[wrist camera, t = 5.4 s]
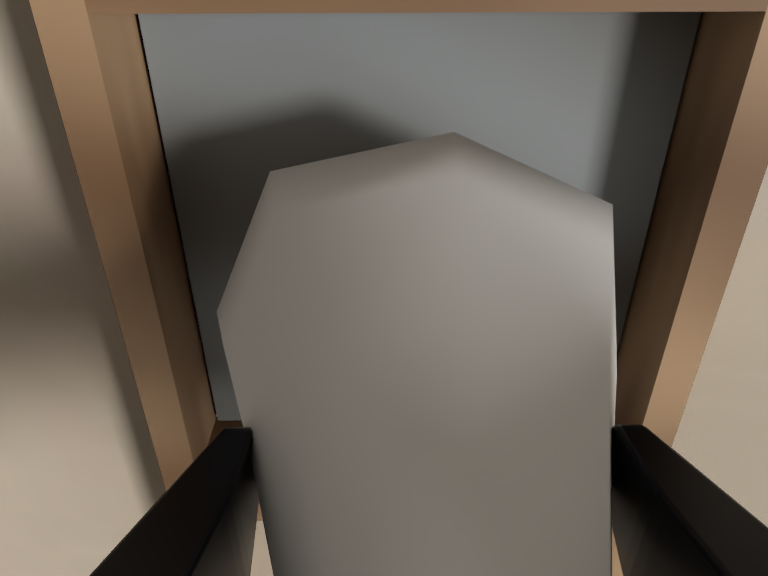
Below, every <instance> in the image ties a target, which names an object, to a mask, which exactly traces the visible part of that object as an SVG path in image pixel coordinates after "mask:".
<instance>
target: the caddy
mask: <svg viewBox="0 0 768 576" xmlns="http://www.w3.org/2000/svg"><path fill="white" fill-rule="evenodd" d="M29 3H30V6H31V10H32V13H33V17H34V20H35V24H36V28H37V31H38V35H39V38H40V42H41V45H42V49H43V53H44V56H45V60H46V63H47V67H48V71H49V74H50V78H51V81H52V85H53V88H54V92H55V96H56V99H57V103H58V106H59V110H60V113H61V117H62V121H63V124H64V128H65V131H66V135H67V138H68V142H69V146H70V149H71V153H72V156H73V160H74V164H75V167H76V171H77V174H78V178H79V181H80V185H81V189H82V192H83V196H84V199H85V203H86V206H87V210H88V214H89V217H90V221H91V224H92V228H93V231H94V235H95V239H96V242H97V246H98V249H99V253H100V257H101V260H102V264H103V267H104V271H105V274H106V278H107V282H108V285H109V289H110V292H111V296H112V299H113V303H114V307H115V310H116V314H117V317H118V321H119V324H120V328H121V332H122V335H123V339H124V342H125V346H126V350H127V353H128V357H129V360H130V364H131V367H132V371H133V375H134V378H135V382H136V385H137V389H138V392H139V396H140V400H141V403H142V407H143V410H144V414H145V418H146V421H147V425H148V428H149V432H150V435H151V439H152V443H153V446H154V450H155V453H156V457H157V460H158V464H159V468H160V471H161V475H162V478H163V482H164V485H165V489H166V491H167V490H168V489H169V488H170V486H171V485H172V484H173V483H174V482H175V481H176V480H177V479H178V478H179V477H180V475H181V474H182V473H183V472H184V471H185V470H186V469H187V468H188V467H189V466H190V464H191V463H192V462H193V461H194V460H195V459H196V458H197V457H198V456H199V455H200V453H201V452H202V451H203V450H204V449H205V448H206V447H207V446H208V445H209V444H210V442H211V441H212V440H213V439H214V438H215V437H216V436H217V435H218V434H219V433H220V431H222V430H223V429H224V428H227V427H243V424H242V420H241V416H240V412H239V408H238V404H237V400H236V396H235V392H234V388H233V383H232V379H231V375H230V371H229V367H228V363H227V359H226V355H225V351H224V347H223V342H222V337H221V331H220V326H219V321H218V316H217V310H218V307H219V304H220V302H221V299H222V296H223V294H224V291H225V289H226V286H227V283H228V281H229V278H230V275H231V273H232V270H233V268H234V265H235V262H236V260H237V257H238V254H239V252H240V249H241V246H242V244H243V241H244V239H245V236H246V233H247V231H248V228H249V225H250V223H251V220H252V217H253V215H254V212H255V210H256V207H257V204H258V202H259V199H260V196H261V194H262V191H263V189H264V186H265V183H266V181H267V178H268V175H269V173H270V171H274V170H278V169H283V168H288V167H292V166H297V165H302V164H306V163H311V162H316V161H320V160H325V159H330V158H334V157H339V156H344V155H348V154H353V153H358V152H362V151H367V150H372V149H376V148H381V147H386V146H390V145H395V144H400V143H404V142H409V141H414V140H418V139H423V138H427V137H432V136H437V135H441V134H446V133H451V132H455V133H457V134H460V135H462V136H464V137H466V138H468V139H471V140H473V141H475V142H477V143H479V144H482V145H484V146H486V147H488V148H490V149H492V150H495V151H497V152H499V153H501V154H503V155H506V156H508V157H510V158H512V159H514V160H517V161H519V162H521V163H523V164H525V165H527V166H530V167H532V168H534V169H536V170H538V171H541V172H543V173H545V174H547V175H549V176H552V177H554V178H556V179H558V180H560V181H562V182H565V183H567V184H569V185H571V186H573V187H576V188H578V189H580V190H582V191H584V192H587V193H589V194H591V195H593V196H595V197H597V198H600V199H602V200H604V201H606V202H608V203H611V204H613V232H614V268H615V304H616V340H617V350H618V351H617V384H616V405H615V425H619V424H639V425H643V426H645V427H647V428H648V429H649V430H651V431H652V432H653V433H654V434H655V435H657V436H658V437H659V438H660V439H661V440H663V441H664V442H665V443H666V444H668V445H669V446H670V447H672V444H673V441H674V438H675V435H676V432H677V429H678V426H679V423H680V420H681V417H682V414H683V412H684V409H685V406H686V403H687V400H688V397H689V394H690V391H691V388H692V385H693V382H694V379H695V376H696V373H697V370H698V368H699V365H700V362H701V359H702V356H703V353H704V350H705V347H706V344H707V341H708V338H709V335H710V332H711V329H712V327H713V324H714V321H715V318H716V315H717V312H718V309H719V306H720V303H721V300H722V297H723V294H724V291H725V288H726V285H727V283H728V280H729V277H730V274H731V271H732V268H733V265H734V262H735V259H736V256H737V253H738V250H739V247H740V244H741V241H742V239H743V236H744V233H745V230H746V227H747V224H748V221H749V218H750V215H751V212H752V209H753V206H754V203H755V200H756V198H757V195H758V192H759V189H760V186H761V183H762V180H763V177H764V174H765V171H766V168H767V165H768V0H29ZM136 14H138V17H139V22H140V27H141V32H142V37H143V42H144V48H145V53H146V58H147V63H148V68H149V73H150V78H151V83H152V88H153V93H154V98H155V104H156V109H157V114H158V119H159V124H160V129H161V134H162V139H163V144H164V149H165V154H166V159H167V165H168V170H169V175H170V180H171V185H172V190H173V195H174V200H175V205H176V210H177V215H178V221H179V226H180V231H181V236H182V241H183V246H184V251H185V256H186V261H187V266H188V271H189V277H190V282H191V287H192V292H193V297H194V302H195V307H196V312H197V317H198V322H199V327H200V333H201V338H202V343H203V348H204V353H205V358H206V363H207V368H208V373H209V378H210V383H211V388H212V394H213V399H214V404H215V409H216V414H217V418H216V415H215V410H214V404H213V399H212V394H211V389H210V384H209V379H208V374H207V369H206V364H205V359H204V354H203V349H202V344H201V339H200V334H199V329H198V324H197V319H196V313H195V308H194V303H193V298H192V293H191V288H190V283H189V278H188V273H187V268H186V263H185V258H184V253H183V248H182V243H181V238H180V233H179V228H178V222H177V217H176V212H175V207H174V202H173V197H172V192H171V187H170V182H169V177H168V172H167V167H166V162H165V157H164V152H163V147H162V142H161V137H160V131H159V126H158V121H157V116H156V111H155V106H154V101H153V96H152V91H151V86H150V81H149V76H148V71H147V66H146V61H145V56H144V51H143V46H142V40H141V35H140V30H139V25H138V20H137V15H136ZM700 15H701V16H700ZM699 19H700V20H699ZM698 23H699V24H698ZM697 27H698V28H697ZM696 31H697V32H696ZM695 35H696V36H695ZM694 39H695V40H694ZM693 43H694V44H693ZM692 47H693V48H692ZM691 51H692V52H691ZM690 55H691V56H690ZM689 59H690V60H689ZM688 63H689V64H688ZM687 67H688V68H687ZM686 71H687V72H686ZM685 75H686V76H685ZM683 84H684V85H683ZM682 88H683V89H682ZM681 92H682V93H681ZM680 96H681V97H680ZM679 100H680V101H679ZM678 104H679V105H678ZM677 108H678V109H677ZM676 112H677V113H676ZM675 116H676V117H675ZM674 120H675V121H674ZM673 124H674V125H673ZM672 128H673V129H672ZM671 132H672V133H671ZM670 136H671V137H670ZM669 140H670V141H669ZM668 144H669V145H668ZM667 148H668V149H667ZM666 152H667V153H666ZM665 156H666V157H665ZM664 160H665V161H664ZM663 164H664V165H663ZM662 168H663V169H662ZM661 172H662V173H661ZM660 176H661V177H660ZM659 180H660V181H659ZM654 201H655V202H654ZM653 205H654V206H653ZM652 209H653V210H652ZM651 213H652V214H651ZM650 217H651V218H650ZM649 221H650V222H649ZM648 225H649V226H648ZM647 229H648V230H647ZM646 233H647V234H646ZM645 237H646V238H645ZM644 241H645V242H644ZM643 245H644V246H643ZM642 249H643V250H642ZM641 253H642V254H641ZM640 257H641V258H640ZM639 261H640V262H639ZM638 265H639V266H638ZM637 269H638V270H637ZM636 273H637V274H636ZM635 277H636V278H635ZM634 281H635V282H634ZM633 285H634V286H633ZM632 289H633V290H632ZM625 318H626V319H625ZM624 322H625V323H624ZM623 326H624V327H623ZM622 330H623V331H622ZM621 334H622V335H621ZM620 338H621V339H620ZM619 342H620V343H619ZM618 346H619V347H618ZM259 520H263V518H262V513H261V508H260V503H259V504H258V513H257V521H259ZM612 576H623V573H622V569H621V565H620V560H619V556H618V551H617V547H616V543H615V538H614V534H613V530H612Z"/></svg>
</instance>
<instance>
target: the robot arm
mask: <svg viewBox="0 0 768 576" xmlns="http://www.w3.org/2000/svg"><path fill="white" fill-rule="evenodd" d="M251 450H252V429H251V427H227V428H224V429H223V430H222V431H220V433H219V434H218V435H217V436H216V437H215V438H214V439H213V440H212V441H211V442H210V444H209V445H208V446H207V447H206V448H205V449H204V450H203V451H202V452H201V453H200V455H199V456H198V457H197V458H196V459H195V460H194V461H193V462H192V463H191V464H190V466H189V467H188V468H187V469H186V470H185V471H184V472H183V473H182V474H181V475H180V477H179V478H178V479H177V480H176V481H175V482H174V483H173V484H172V485H171V486H170V488H169V489H168V490H167V491H166V492H165V493H164V494H163V495H162V496H161V498H160V499H159V500H158V501H157V502H156V503H155V504H154V505H153V506H152V507H151V509H150V510H149V511H148V512H147V513H146V514H145V515H144V516H143V517H142V518H141V520H140V521H139V522H138V523H137V524H136V525H135V526H134V527H133V528H132V529H131V531H130V532H129V533H128V534H127V535H126V536H125V537H124V538H123V539H122V540H121V542H120V543H119V544H118V545H117V546H116V547H115V548H114V549H113V550H112V551H111V553H110V554H109V555H108V556H107V557H106V558H105V559H104V560H103V561H102V562H101V564H100V565H99V566H98V567H97V568H96V569H95V570H94V571H93V572H92V573H91V575H90V576H250V572H251V564H252V556H253V547H254V538H255V530H256V521H257V513H258V504H259V498H258V493H257V487H256V482H255V477H254V472H253V467H252V462H251ZM612 530H613V534H614V538H615V543H616V547H617V551H618V556H619V560H620V565H621V569H622V573H623V576H768V527H766V526H765V525H764V524H763V523H762V522H760V521H759V520H758V519H757V518H756V517H754V516H753V515H752V514H751V513H750V512H748V511H747V510H746V509H745V508H744V507H742V506H741V505H740V504H739V503H737V502H736V501H735V500H734V499H733V498H731V497H730V496H729V495H728V494H727V493H725V492H724V491H723V490H722V489H721V488H719V487H718V486H717V485H716V484H715V483H713V482H712V481H711V480H710V479H709V478H707V477H706V476H705V475H704V474H703V473H701V472H700V471H699V470H698V469H696V468H695V467H694V466H693V465H692V464H690V463H689V462H688V461H687V460H686V459H684V458H683V457H682V456H681V455H680V454H678V453H677V452H676V451H675V450H674V449H672V448H671V447H670V446H669V445H668V444H666V443H665V442H664V441H663V440H661V439H660V438H659V437H658V436H657V435H655V434H654V433H653V432H652V431H651V430H649V429H648V428H647V427H645V426H643V425H639V424H619V425H615V426H613V427H612Z"/></svg>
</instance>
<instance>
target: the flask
mask: <svg viewBox="0 0 768 576" xmlns="http://www.w3.org/2000/svg"><path fill="white" fill-rule="evenodd" d="M217 316H218V321H219V326H220V331H221V337H222V342H223V347H224V351H225V355H226V359H227V363H228V367H229V371H230V375H231V379H232V383H233V388H234V392H235V396H236V400H237V404H238V408H239V412H240V416H241V420H242V424H243V427H251V429H252V450H251V462H252V467H253V472H254V477H255V482H256V487H257V493H258V498H259V503H260V508H261V513H262V518H263V523H264V528H265V534H266V539H267V544H268V549H269V554H270V559H271V564H272V570H273V575H274V576H612V427H613V426H615V405H616V384H617V340H616V304H615V268H614V232H613V204H611V203H608V202H606V201H604V200H602V199H600V198H597V197H595V196H593V195H591V194H589V193H587V192H584V191H582V190H580V189H578V188H576V187H573V186H571V185H569V184H567V183H565V182H562V181H560V180H558V179H556V178H554V177H552V176H549V175H547V174H545V173H543V172H541V171H538V170H536V169H534V168H532V167H530V166H527V165H525V164H523V163H521V162H519V161H517V160H514V159H512V158H510V157H508V156H506V155H503V154H501V153H499V152H497V151H495V150H492V149H490V148H488V147H486V146H484V145H482V144H479V143H477V142H475V141H473V140H471V139H468V138H466V137H464V136H462V135H460V134H457V133H455V132H451V133H446V134H441V135H437V136H432V137H427V138H423V139H418V140H414V141H409V142H404V143H400V144H395V145H390V146H386V147H381V148H376V149H372V150H367V151H362V152H358V153H353V154H348V155H344V156H339V157H334V158H330V159H325V160H320V161H316V162H311V163H306V164H302V165H297V166H292V167H288V168H283V169H278V170H274V171H270V173H269V175H268V178H267V181H266V183H265V186H264V189H263V191H262V194H261V196H260V199H259V202H258V204H257V207H256V210H255V212H254V215H253V217H252V220H251V223H250V225H249V228H248V231H247V233H246V236H245V239H244V241H243V244H242V246H241V249H240V252H239V254H238V257H237V260H236V262H235V265H234V268H233V270H232V273H231V275H230V278H229V281H228V283H227V286H226V289H225V291H224V294H223V296H222V299H221V302H220V304H219V307H218V310H217Z"/></svg>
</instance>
